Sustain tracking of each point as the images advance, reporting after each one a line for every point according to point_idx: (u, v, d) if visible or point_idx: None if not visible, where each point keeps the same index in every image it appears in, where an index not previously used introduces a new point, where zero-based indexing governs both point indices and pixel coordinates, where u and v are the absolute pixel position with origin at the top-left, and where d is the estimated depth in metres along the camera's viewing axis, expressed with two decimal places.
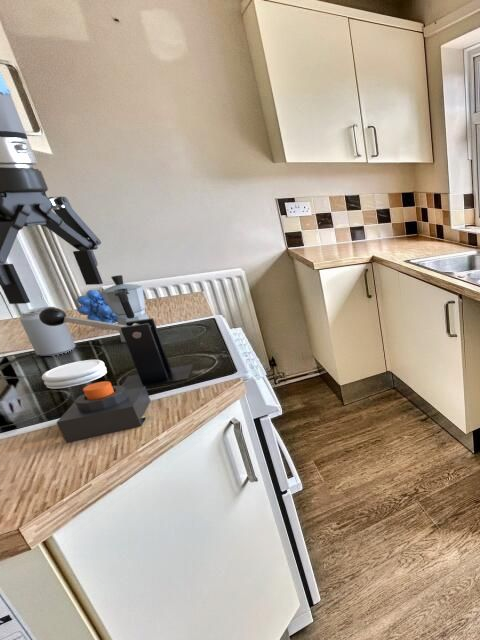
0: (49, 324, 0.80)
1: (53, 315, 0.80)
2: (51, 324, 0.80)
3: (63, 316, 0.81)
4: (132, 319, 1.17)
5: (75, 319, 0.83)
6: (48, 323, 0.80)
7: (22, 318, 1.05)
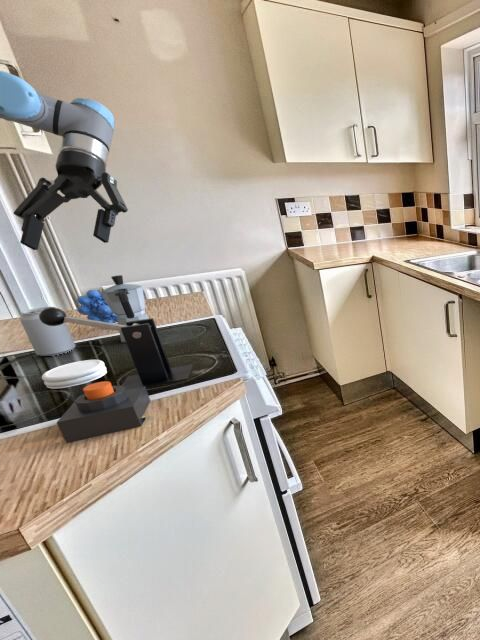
0: (49, 324, 0.80)
1: (53, 315, 0.80)
2: (51, 324, 0.80)
3: (63, 316, 0.81)
4: (132, 319, 1.17)
5: (75, 319, 0.83)
6: (48, 323, 0.80)
7: (22, 318, 1.05)
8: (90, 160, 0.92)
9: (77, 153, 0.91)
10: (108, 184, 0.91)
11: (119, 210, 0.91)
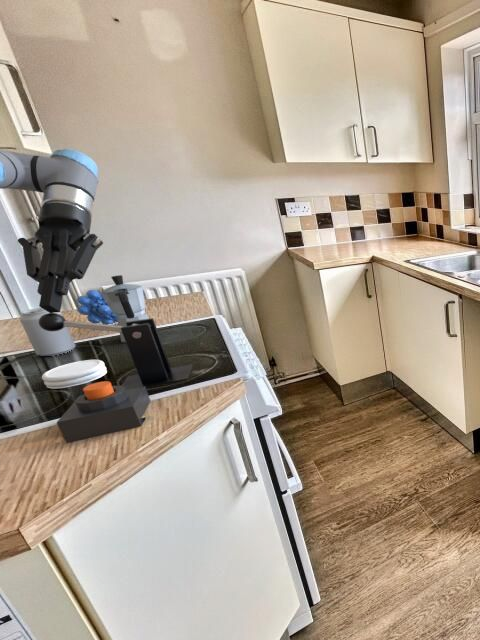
0: (49, 330, 0.81)
1: (52, 320, 0.80)
2: (51, 329, 0.81)
3: (62, 321, 0.82)
4: (132, 319, 1.17)
5: (74, 323, 0.83)
6: (48, 329, 0.80)
7: (22, 318, 1.05)
8: (79, 213, 0.88)
9: (65, 205, 0.87)
10: (85, 247, 0.86)
11: (74, 277, 0.85)
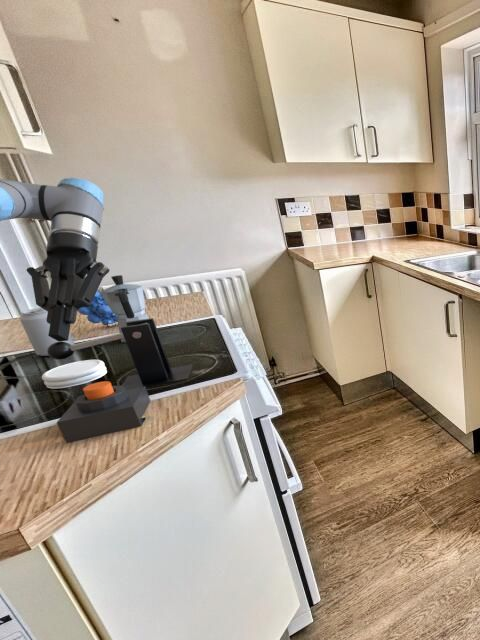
0: (61, 358, 0.83)
1: (58, 349, 0.82)
2: (63, 357, 0.83)
3: (67, 346, 0.83)
4: (132, 319, 1.17)
5: (79, 344, 0.84)
6: (60, 357, 0.82)
7: (22, 318, 1.05)
8: (86, 241, 0.90)
9: (73, 235, 0.89)
10: (92, 276, 0.88)
11: (82, 306, 0.87)
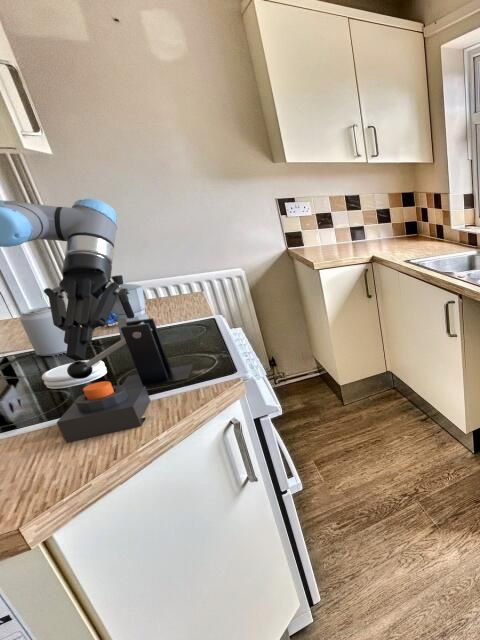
0: (83, 376, 0.85)
1: (75, 368, 0.84)
2: (84, 375, 0.85)
3: (83, 364, 0.85)
4: (132, 319, 1.17)
5: (92, 359, 0.86)
6: (81, 376, 0.85)
7: (22, 318, 1.05)
8: (101, 262, 0.92)
9: (88, 256, 0.91)
10: (107, 296, 0.90)
11: (97, 325, 0.89)
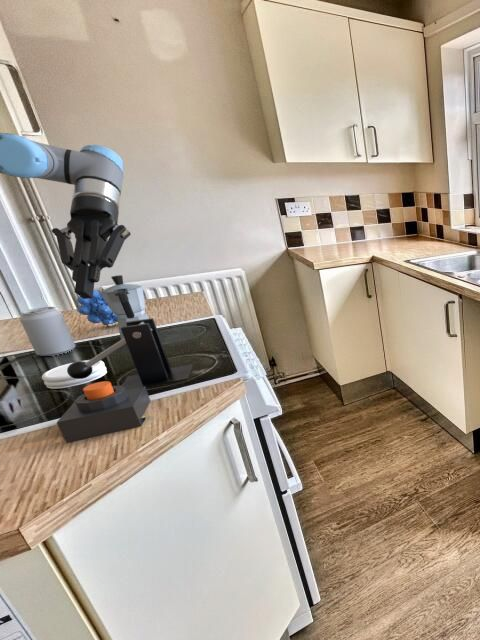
0: (83, 376, 0.85)
1: (75, 368, 0.84)
2: (84, 375, 0.85)
3: (83, 364, 0.85)
4: (132, 319, 1.17)
5: (92, 359, 0.86)
6: (81, 376, 0.85)
7: (22, 318, 1.05)
8: (108, 205, 0.93)
9: (96, 198, 0.92)
10: (114, 237, 0.91)
11: (105, 266, 0.90)
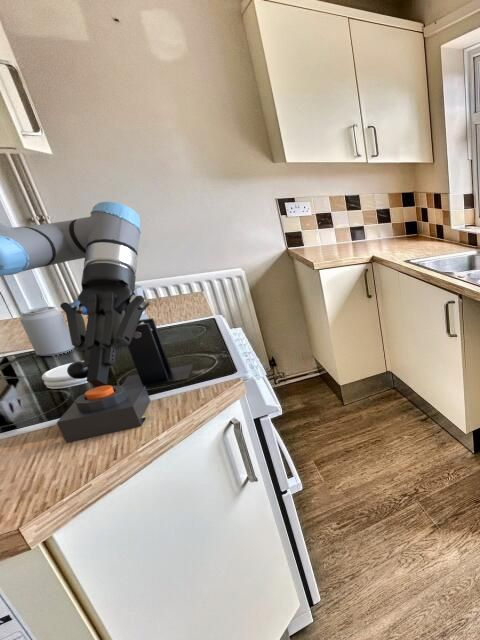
0: (83, 376, 0.85)
1: (75, 368, 0.84)
2: (84, 375, 0.85)
3: (83, 364, 0.85)
4: None
5: None
6: (81, 376, 0.85)
7: (22, 318, 1.05)
8: (124, 272, 0.82)
9: (110, 266, 0.80)
10: (131, 311, 0.80)
11: (121, 345, 0.78)
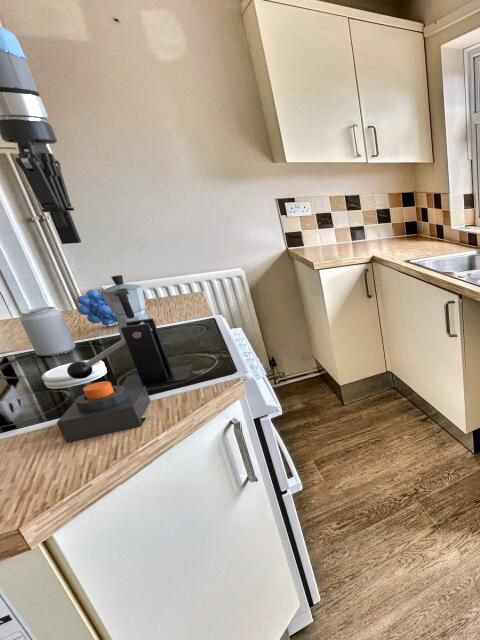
0: (83, 376, 0.85)
1: (75, 368, 0.84)
2: (84, 375, 0.85)
3: (83, 364, 0.85)
4: (132, 319, 1.17)
5: (92, 359, 0.86)
6: (81, 376, 0.85)
7: (22, 318, 1.05)
8: None
9: (51, 128, 0.86)
10: (62, 177, 0.90)
11: None
